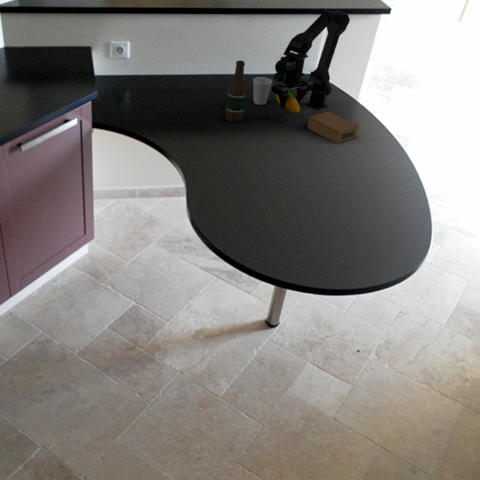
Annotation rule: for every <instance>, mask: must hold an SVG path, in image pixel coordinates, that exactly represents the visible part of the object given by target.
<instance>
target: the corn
mask: <svg viewBox="0 0 480 480" xmlns="http://www.w3.org/2000/svg"><path fill="white" fill-rule="evenodd" d="M287 94H288V95H289V96H288V99H287V101H286V104H285V107H284V109H283V110H284V111H285V112H286V113H293V114H298V115H301V114H302V109H301V107H300V103H299V104H298V102H297V100H298V99H297V97H296V93H295V92H294V91H292V89H291V90H288V93H287ZM275 100H276V102H277V104H278V105H279V106H280V107H281V105H280V100H279V96H278V95H277V94H276V97H275Z"/></svg>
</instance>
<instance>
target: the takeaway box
mask: <svg viewBox="0 0 480 480" xmlns="http://www.w3.org/2000/svg"><path fill="white" fill-rule="evenodd" d="M359 128H361V125H359V124H357V123H355V122H353V121H350V120H348V119H346V118H345V117H342V116H340V115H338V114H336V113H334V112H331V111H329V110H328V111H325V112H321V113H317V114H313V115H310V116H309V115H308V124H307V129H308V130H310V131H312V132H314V133H316V134H318V135H320V136H322V137H324V138H326V139H329V140H330V141H332V142H334V143H335V144H339V143H341V142H345V141H349V140H351V139H355V138H357V136H358V131H359Z"/></svg>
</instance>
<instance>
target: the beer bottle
mask: <svg viewBox="0 0 480 480" xmlns="http://www.w3.org/2000/svg"><path fill="white" fill-rule="evenodd" d="M245 66H246V62H245V61H244V60H236V62H235V70H234V76H233V80H232V82H230V84H229V86H228V90H227V97H226V106H225V107H226V108H225V120H226V121H228V122H231V123H239V122H242V121H243V120H244V116H245V108H246V101H247V86H246V84H245V82H244V74H245Z"/></svg>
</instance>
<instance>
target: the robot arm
mask: <svg viewBox="0 0 480 480" xmlns="http://www.w3.org/2000/svg"><path fill="white" fill-rule="evenodd" d="M350 19H351V18H350V16H349V14H348V13H345V12H341V11H338V10H333V11H331V10H327V9H325V10H322V11H321V13H320V15H319V16H318V17H317V18H316V19H315V20H314V21H313V23H311V25H309V26H308V27H307V29H306V30H305V31H303V32H300V33H297V34H296V35H295V36H293V37H292V38H291V39H290V41H289V43H288V45H287V47H286V48H285V50H284V52H283V54H282V55H283V56H280V59H279V60H277V61H276V62H275V64H274V70H275V73H274V75H273V81H274V82H276V83H277V84H274V85H271V89H270V92H271V93H273V94H275V95H276V96H277V95H278V96H279V100H280V105H281V106H280V105H279V106H280V109H283V110H284V109H285V108H284V107H285V104H286V101H287V99H288V96H289V95H288V94H287V93H288V90H291V91H292V90H294V89H296V93H295V95H296V97H297V99H298V100H297V102H298V104H299V105H300V103H301V102H302V100H303V99H304V97H305V96H306V95H307V94H308V93H309V92H310V96H309V101H308V102H306V105H308V106H309V107H312V108H313V109H315V110H316V109H317V110H319V109H322V108H326V107H328V105H327V104H325V103H326V98H327V96H329V95H330V94H331V92H332V90H333V88H332V87H331V84H330V79H331V77H330V72H329V71H330V67H331V65H332V64H331V63H332V61H333V58H334V54H335V53H336V48H337V45H338V42H339V39H340V36H341V35H342V34H343V33H344V32H345V31H346V30H347V28H348V25H349V24H350ZM325 29H326V30H327V31H326V32H327V34H326V38H325V42H324V44H323V47H322V51H321V54H320V57H319V60H318V64H317V66H316V68H315V69H314V70H313V71H312V70H311V72H310V73H309V77H308V78H306V77H305V72H303V71H304V66H305V61H306V59H307V58H308V57H309V54H308V53H309V51H310V50H311V49H312V47H313V42H314V41H315V40H316V38H317V37H319V36H320V34H322V32H323V31H325ZM303 77H304V78H303ZM281 83H282V84H281Z"/></svg>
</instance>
